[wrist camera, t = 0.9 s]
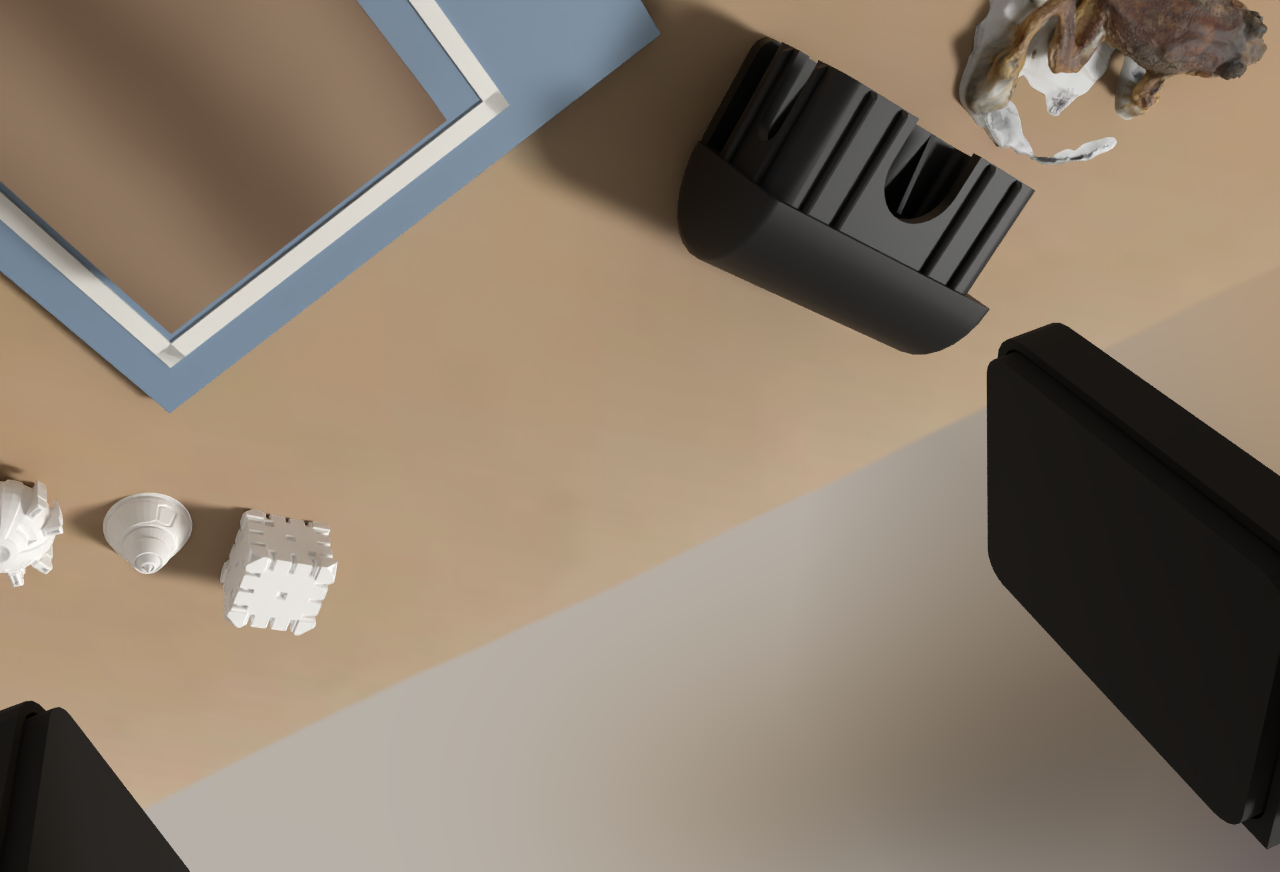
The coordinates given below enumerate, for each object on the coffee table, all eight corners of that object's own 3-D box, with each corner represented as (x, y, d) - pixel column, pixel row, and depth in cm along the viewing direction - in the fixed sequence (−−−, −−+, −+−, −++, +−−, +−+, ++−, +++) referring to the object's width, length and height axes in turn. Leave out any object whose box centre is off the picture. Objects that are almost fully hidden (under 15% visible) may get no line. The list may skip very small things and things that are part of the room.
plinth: (181, -230, 28) (180, -227, 25) (428, 93, 34) (446, 120, 31) (-125, 17, 28) (-154, 42, 26) (171, 292, 34) (170, 334, 32)
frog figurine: (1285, -134, 41) (1373, -123, 38) (1146, 179, 47) (1213, 211, 44) (1046, -214, 37) (1124, -210, 34) (922, 143, 42) (980, 175, 39)
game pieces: (329, 515, 42) (340, 566, 39) (300, 585, 43) (309, 639, 40) (-39, 445, 36) (-53, 501, 33) (-60, 529, 37) (-76, 589, 34)
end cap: (646, 212, 39) (720, 287, 34) (748, 23, 37) (845, 72, 32) (849, 307, 44) (942, 386, 39) (949, 147, 42) (1063, 207, 37)
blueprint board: (316, -541, 26) (320, -548, 26) (652, 28, 36) (661, 34, 35) (-324, -18, 27) (-338, -11, 27) (169, 401, 37) (169, 414, 36)
